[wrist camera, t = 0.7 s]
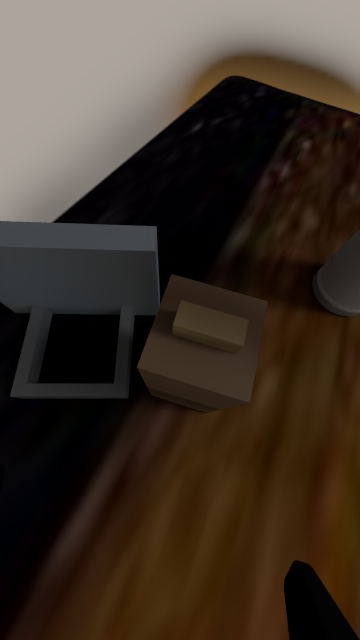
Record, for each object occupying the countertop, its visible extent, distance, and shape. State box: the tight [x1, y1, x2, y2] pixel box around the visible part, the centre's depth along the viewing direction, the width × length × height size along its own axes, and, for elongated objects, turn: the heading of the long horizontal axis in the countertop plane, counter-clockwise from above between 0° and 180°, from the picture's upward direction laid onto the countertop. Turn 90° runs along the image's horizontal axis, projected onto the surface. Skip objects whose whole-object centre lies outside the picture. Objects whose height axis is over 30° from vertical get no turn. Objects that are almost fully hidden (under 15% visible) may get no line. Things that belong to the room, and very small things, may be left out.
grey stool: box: [0, 221, 160, 398], centre depth 18 cm, size 10×14×10 cm
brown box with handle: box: [137, 274, 268, 413], centre depth 16 cm, size 5×5×13 cm
